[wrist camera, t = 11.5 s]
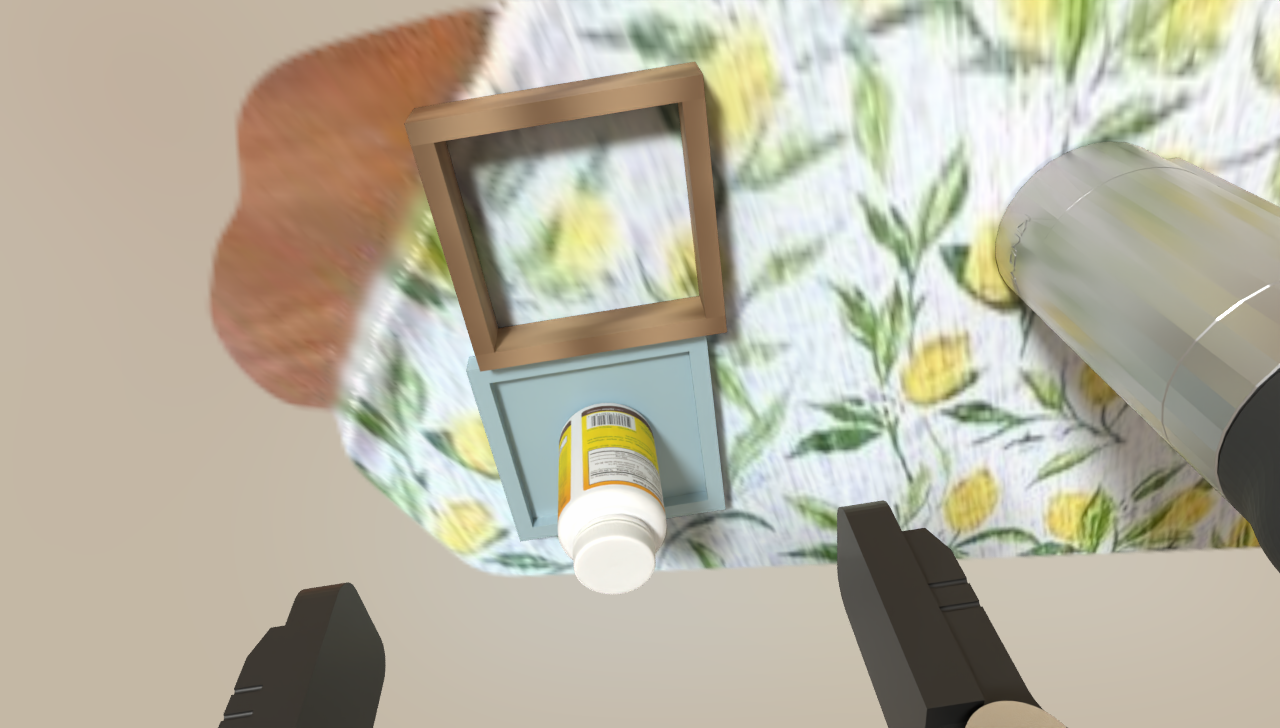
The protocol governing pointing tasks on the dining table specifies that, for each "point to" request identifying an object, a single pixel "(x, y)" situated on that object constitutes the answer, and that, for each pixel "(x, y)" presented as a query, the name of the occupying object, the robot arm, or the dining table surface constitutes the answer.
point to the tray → (555, 390)
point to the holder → (553, 106)
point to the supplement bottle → (610, 498)
